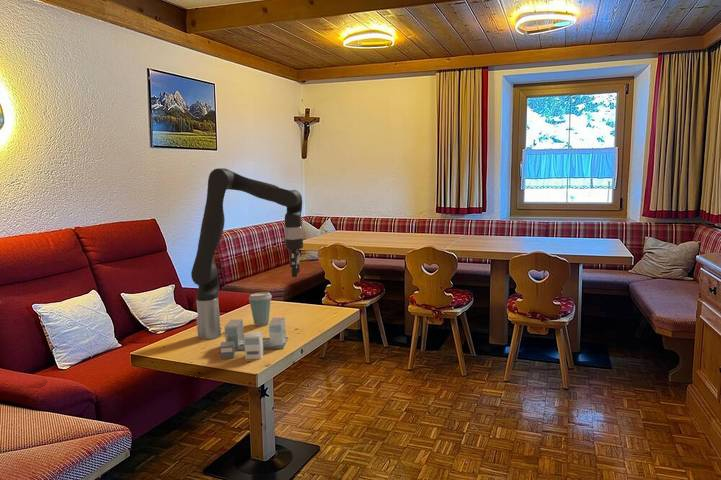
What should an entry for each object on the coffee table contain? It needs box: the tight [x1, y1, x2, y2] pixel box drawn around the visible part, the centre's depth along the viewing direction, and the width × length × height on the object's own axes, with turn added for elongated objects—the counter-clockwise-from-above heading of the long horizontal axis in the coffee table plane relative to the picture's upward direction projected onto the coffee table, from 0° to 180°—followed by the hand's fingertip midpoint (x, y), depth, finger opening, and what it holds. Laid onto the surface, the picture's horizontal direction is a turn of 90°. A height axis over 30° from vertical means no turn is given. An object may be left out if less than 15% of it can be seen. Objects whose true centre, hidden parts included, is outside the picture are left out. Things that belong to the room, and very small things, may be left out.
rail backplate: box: [224, 317, 289, 352], centre depth 224 cm, size 24×12×10 cm, turn 89°
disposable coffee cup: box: [248, 292, 273, 327], centre depth 254 cm, size 11×11×15 cm
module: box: [244, 331, 264, 360], centre depth 210 cm, size 6×5×9 cm
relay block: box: [219, 341, 236, 360], centre depth 212 cm, size 5×6×5 cm
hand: (295, 275), depth 230 cm, fingers open, 8 cm apart
